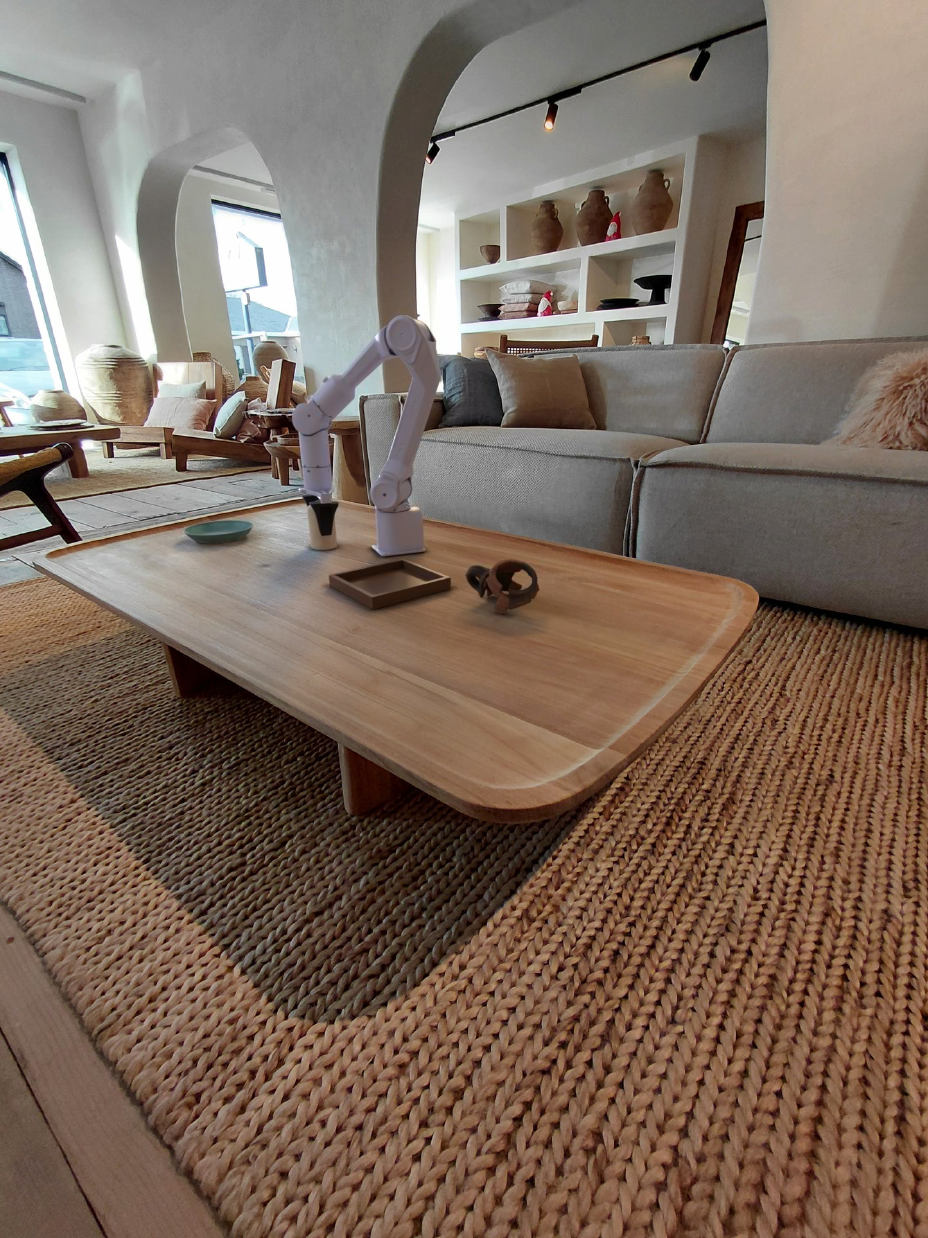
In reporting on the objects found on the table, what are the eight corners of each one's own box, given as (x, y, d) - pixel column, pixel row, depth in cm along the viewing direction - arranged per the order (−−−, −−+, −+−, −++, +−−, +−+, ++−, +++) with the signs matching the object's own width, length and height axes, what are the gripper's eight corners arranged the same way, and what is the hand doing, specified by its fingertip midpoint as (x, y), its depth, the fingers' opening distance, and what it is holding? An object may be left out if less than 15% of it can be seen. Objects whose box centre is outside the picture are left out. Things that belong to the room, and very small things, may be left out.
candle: (313, 543, 127) (308, 498, 123) (338, 543, 127) (334, 497, 123) (309, 550, 122) (304, 503, 118) (335, 550, 122) (331, 502, 118)
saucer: (268, 533, 135) (266, 521, 134) (226, 549, 122) (224, 537, 121) (216, 528, 140) (214, 517, 139) (170, 543, 127) (167, 532, 126)
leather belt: (536, 596, 97) (548, 563, 91) (523, 638, 91) (535, 606, 85) (468, 574, 98) (476, 540, 92) (451, 615, 92) (458, 581, 86)
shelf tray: (403, 568, 110) (403, 558, 109) (451, 588, 99) (450, 577, 99) (329, 586, 101) (328, 574, 100) (372, 609, 90) (371, 597, 90)
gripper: (290, 462, 122) (297, 525, 128) (302, 471, 110) (309, 541, 115) (324, 460, 125) (329, 522, 130) (339, 469, 113) (344, 537, 118)
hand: (322, 531), depth 123 cm, fingers open, 7 cm apart
